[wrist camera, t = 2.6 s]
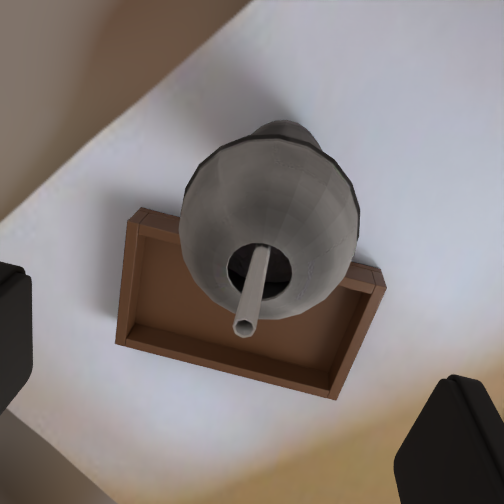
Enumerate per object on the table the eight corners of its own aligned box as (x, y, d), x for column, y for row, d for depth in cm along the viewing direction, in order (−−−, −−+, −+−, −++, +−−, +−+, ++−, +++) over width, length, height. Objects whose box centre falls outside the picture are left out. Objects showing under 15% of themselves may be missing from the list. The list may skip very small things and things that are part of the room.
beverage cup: (223, 202, 29) (96, 453, 12) (230, 89, 26) (68, 200, 8) (329, 215, 29) (367, 497, 11) (350, 103, 26) (451, 249, 8)
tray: (381, 268, 30) (387, 287, 28) (334, 377, 35) (336, 401, 33) (140, 206, 30) (126, 220, 28) (127, 324, 35) (114, 344, 33)
